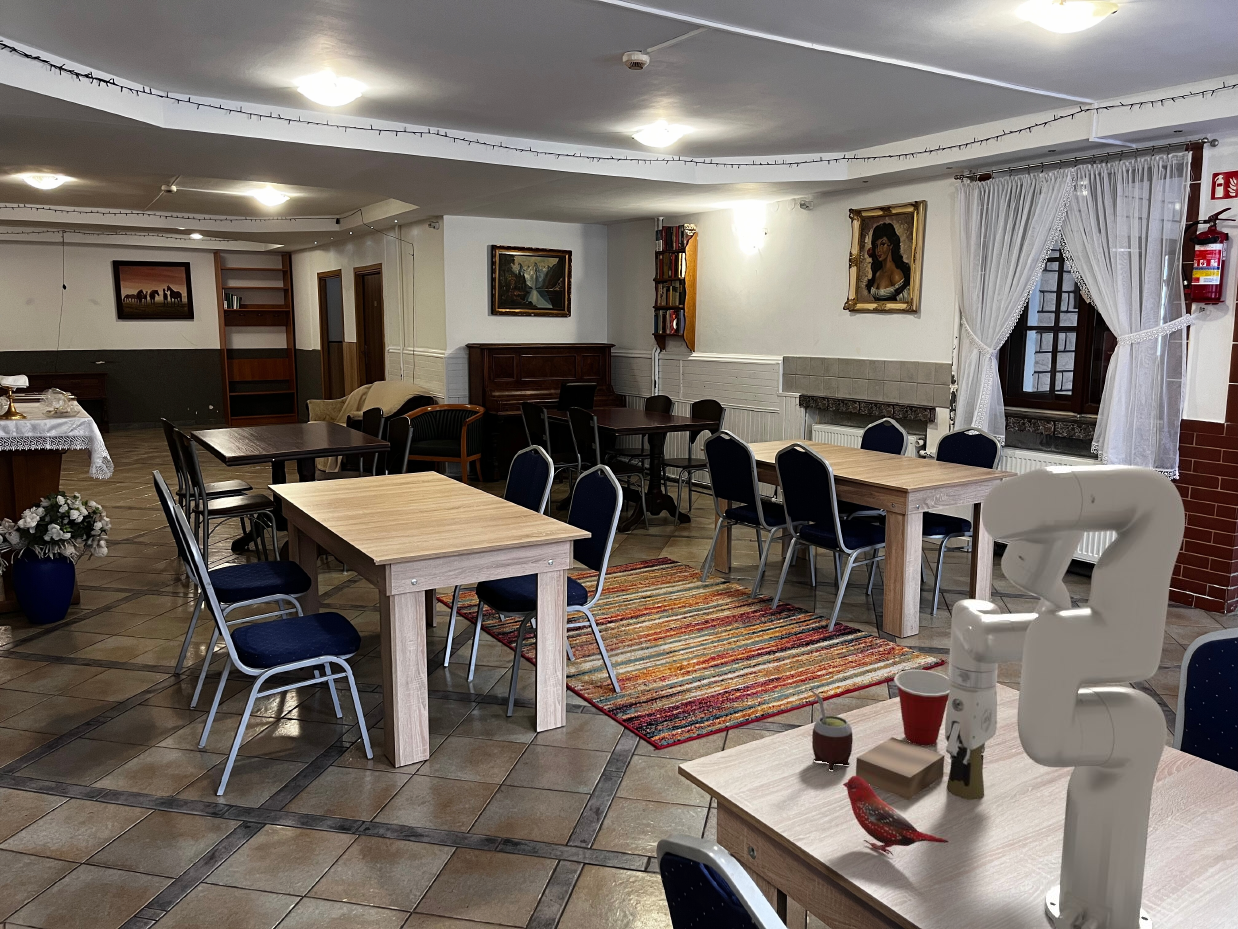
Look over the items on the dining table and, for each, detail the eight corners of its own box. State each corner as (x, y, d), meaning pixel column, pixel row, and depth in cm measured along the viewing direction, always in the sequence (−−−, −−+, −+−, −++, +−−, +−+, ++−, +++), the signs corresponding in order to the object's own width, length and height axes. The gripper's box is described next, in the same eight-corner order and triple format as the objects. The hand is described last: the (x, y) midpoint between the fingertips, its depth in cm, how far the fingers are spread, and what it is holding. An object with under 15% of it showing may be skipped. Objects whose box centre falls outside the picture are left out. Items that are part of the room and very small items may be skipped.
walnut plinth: (908, 800, 152) (909, 777, 152) (855, 779, 160) (856, 757, 159) (943, 776, 161) (944, 755, 160) (891, 758, 168) (892, 737, 167)
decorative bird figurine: (846, 828, 143) (848, 768, 142) (951, 879, 130) (955, 812, 129) (834, 835, 142) (837, 773, 140) (941, 886, 128) (945, 819, 127)
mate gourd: (851, 757, 168) (854, 678, 166) (851, 777, 160) (854, 694, 158) (809, 752, 170) (812, 674, 168) (807, 772, 162) (810, 690, 160)
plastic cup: (890, 748, 172) (893, 686, 170) (891, 725, 182) (894, 667, 180) (952, 756, 169) (956, 693, 167) (949, 732, 179) (953, 673, 177)
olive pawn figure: (987, 801, 152) (991, 738, 151) (949, 797, 153) (953, 734, 152) (981, 784, 158) (985, 723, 157) (944, 780, 159) (947, 720, 158)
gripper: (971, 694, 145) (964, 804, 147) (1016, 668, 156) (1009, 770, 159) (927, 681, 150) (921, 787, 152) (973, 657, 161) (967, 756, 164)
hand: (966, 777), depth 155 cm, fingers closed on olive pawn figure, 3 cm apart
